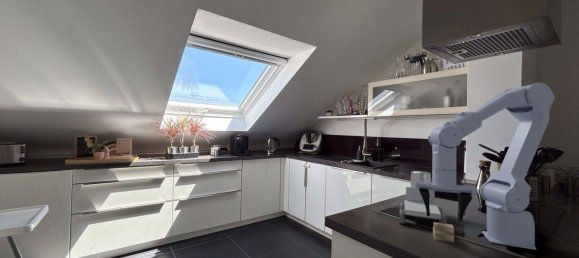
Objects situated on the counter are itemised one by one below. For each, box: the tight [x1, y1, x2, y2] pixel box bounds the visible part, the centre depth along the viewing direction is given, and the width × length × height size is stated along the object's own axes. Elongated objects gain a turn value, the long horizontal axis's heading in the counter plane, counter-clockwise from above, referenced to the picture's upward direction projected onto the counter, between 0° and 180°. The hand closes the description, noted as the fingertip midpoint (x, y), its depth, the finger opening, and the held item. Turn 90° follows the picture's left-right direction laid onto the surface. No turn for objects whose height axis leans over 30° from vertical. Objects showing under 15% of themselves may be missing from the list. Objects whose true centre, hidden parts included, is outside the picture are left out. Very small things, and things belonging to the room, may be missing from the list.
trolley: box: [399, 186, 448, 225], centre depth 82 cm, size 13×13×10 cm
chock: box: [432, 221, 455, 244], centre depth 69 cm, size 4×5×4 cm
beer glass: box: [410, 170, 432, 187], centre depth 93 cm, size 7×7×15 cm
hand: (443, 217), depth 69 cm, fingers open, 7 cm apart
